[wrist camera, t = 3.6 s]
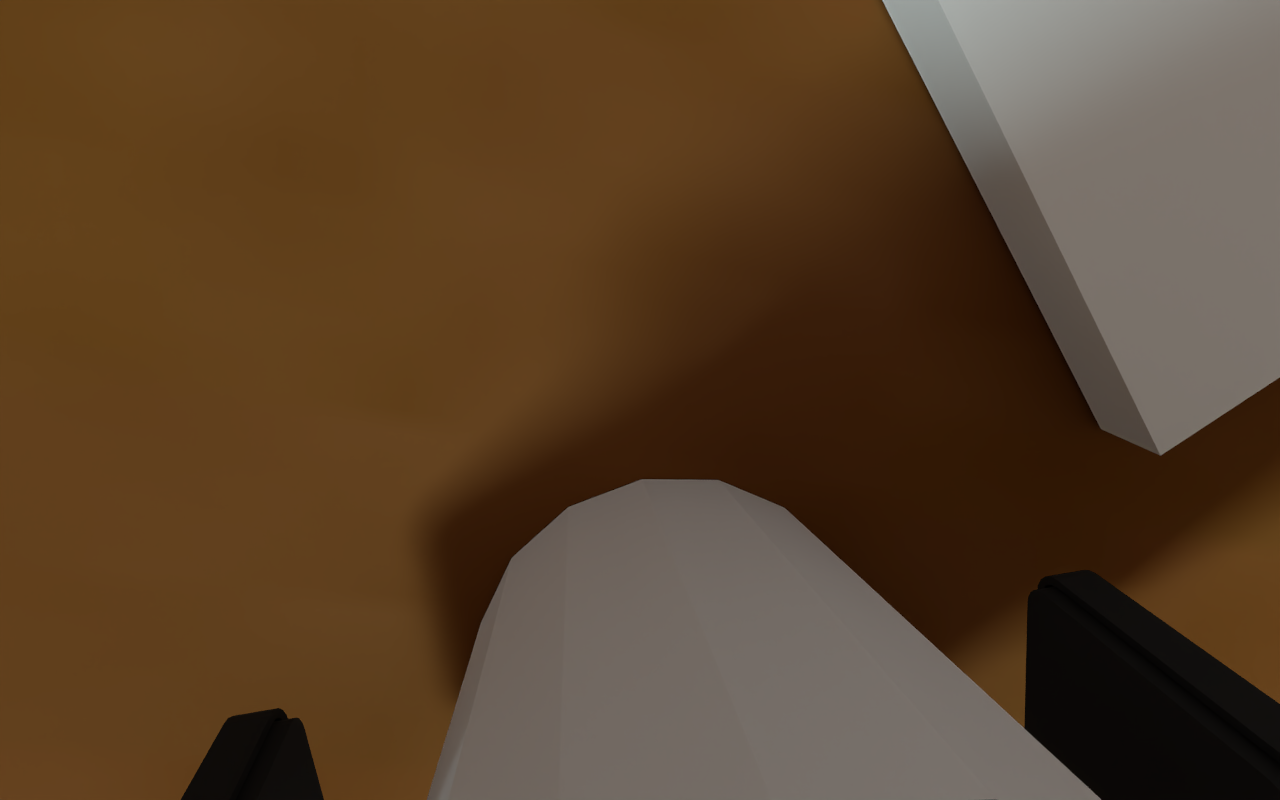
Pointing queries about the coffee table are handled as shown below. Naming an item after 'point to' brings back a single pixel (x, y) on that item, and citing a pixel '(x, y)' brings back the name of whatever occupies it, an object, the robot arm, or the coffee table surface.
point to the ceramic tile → (1127, 186)
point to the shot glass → (717, 671)
